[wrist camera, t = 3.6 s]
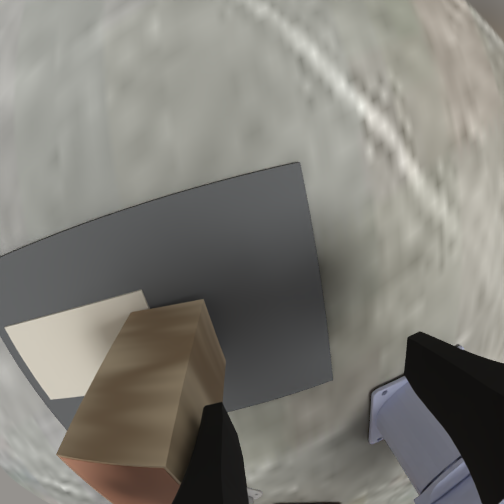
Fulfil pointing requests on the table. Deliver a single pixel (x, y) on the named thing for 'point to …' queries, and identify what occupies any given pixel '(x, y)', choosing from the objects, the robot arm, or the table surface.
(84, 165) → the table surface
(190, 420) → the wooden block
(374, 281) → the table surface
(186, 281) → the rubber mat
